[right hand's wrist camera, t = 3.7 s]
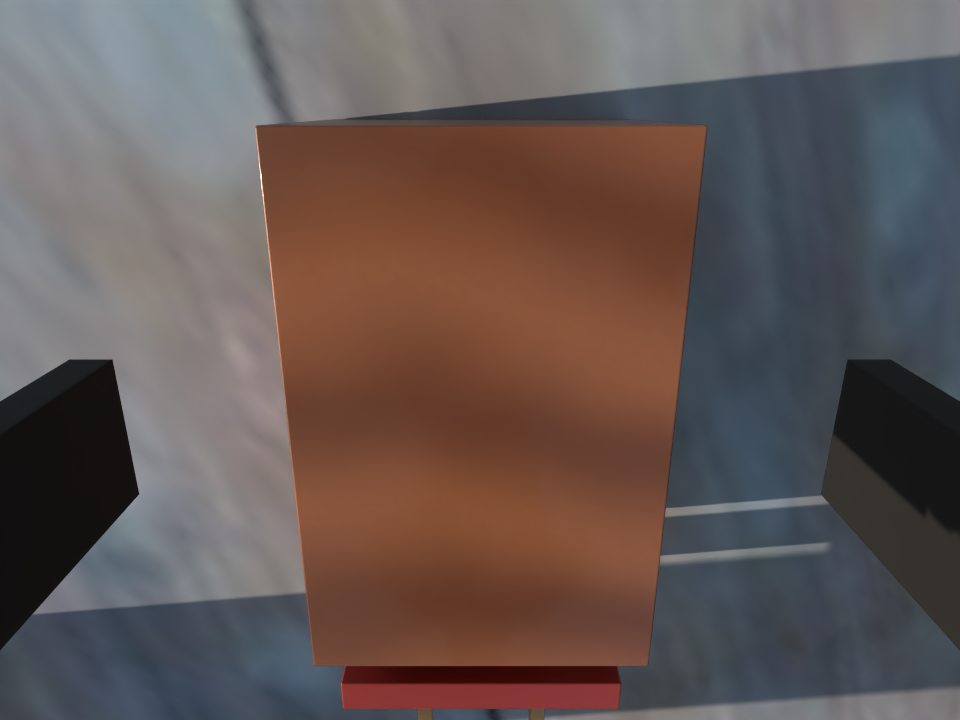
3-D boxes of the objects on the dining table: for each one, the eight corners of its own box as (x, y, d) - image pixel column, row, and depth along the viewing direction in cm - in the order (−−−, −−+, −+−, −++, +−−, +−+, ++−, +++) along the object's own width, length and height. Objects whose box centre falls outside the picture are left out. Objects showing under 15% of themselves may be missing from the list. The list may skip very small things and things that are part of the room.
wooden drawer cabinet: (601, 510, 31) (648, 666, 23) (360, 510, 32) (313, 667, 23) (629, 119, 26) (708, 125, 17) (331, 119, 26) (253, 125, 17)
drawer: (581, 669, 34) (608, 819, 27) (379, 669, 34) (353, 819, 27) (610, 231, 26) (659, 277, 19) (350, 231, 26) (302, 277, 19)
